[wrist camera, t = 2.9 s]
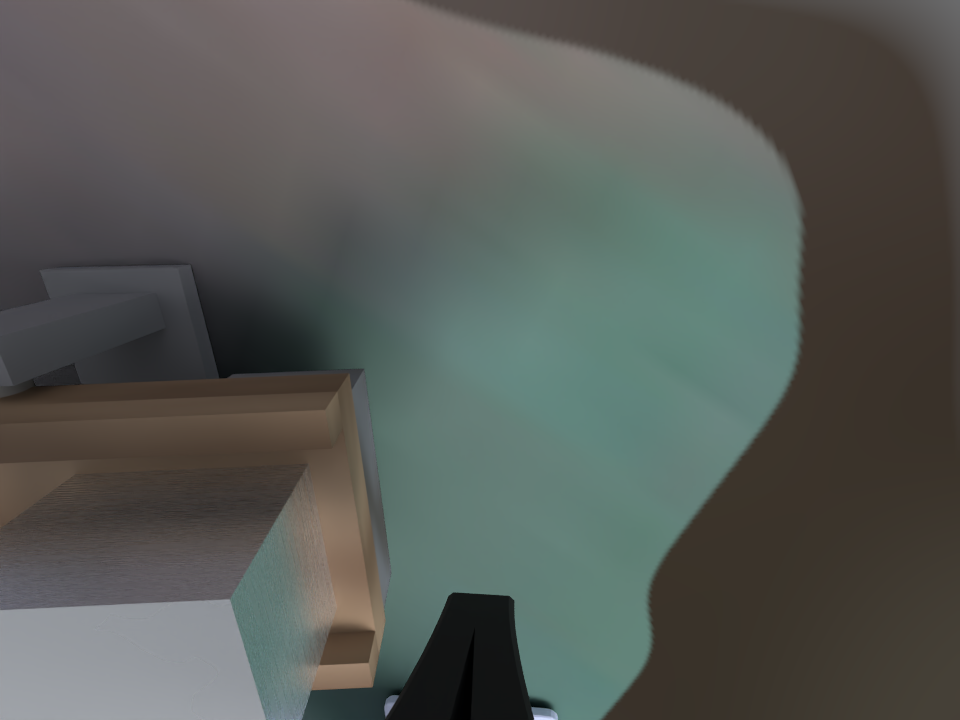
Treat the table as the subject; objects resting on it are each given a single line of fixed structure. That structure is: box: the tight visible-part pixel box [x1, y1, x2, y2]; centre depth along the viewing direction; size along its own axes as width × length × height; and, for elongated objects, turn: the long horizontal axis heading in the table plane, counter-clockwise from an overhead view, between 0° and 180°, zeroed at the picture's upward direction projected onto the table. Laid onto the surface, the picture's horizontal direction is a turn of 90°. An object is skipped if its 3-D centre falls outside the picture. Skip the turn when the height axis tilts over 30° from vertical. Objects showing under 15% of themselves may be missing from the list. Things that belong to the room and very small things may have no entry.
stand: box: [0, 265, 219, 386], centre depth 15 cm, size 14×5×6 cm, turn 2°
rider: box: [0, 464, 337, 720], centre depth 11 cm, size 5×6×4 cm
